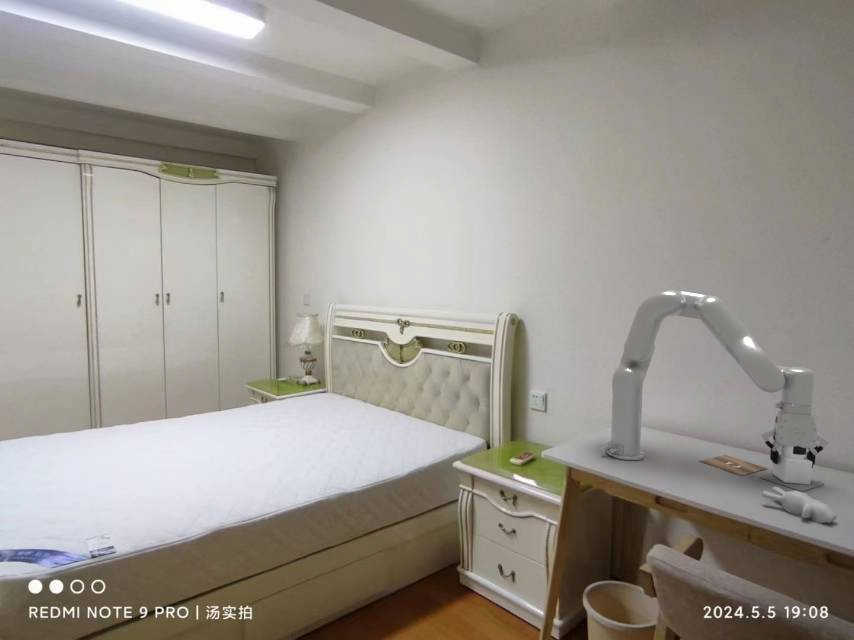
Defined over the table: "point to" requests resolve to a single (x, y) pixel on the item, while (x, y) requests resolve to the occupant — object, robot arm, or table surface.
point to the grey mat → (792, 485)
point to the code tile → (733, 465)
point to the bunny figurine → (802, 505)
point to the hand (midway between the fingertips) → (791, 464)
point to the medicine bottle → (793, 466)
